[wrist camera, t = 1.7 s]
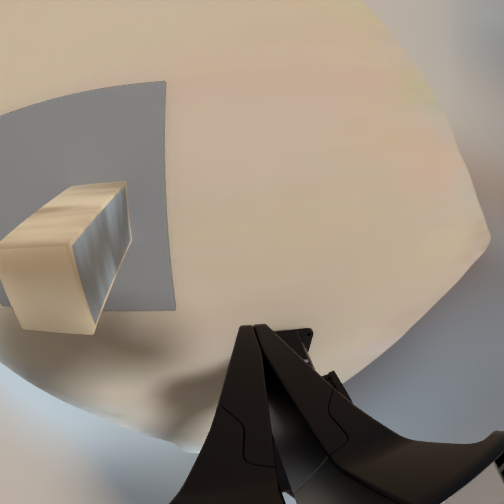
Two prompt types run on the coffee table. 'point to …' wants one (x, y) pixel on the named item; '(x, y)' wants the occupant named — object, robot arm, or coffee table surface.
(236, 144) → the coffee table surface
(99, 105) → the mat
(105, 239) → the birch block
